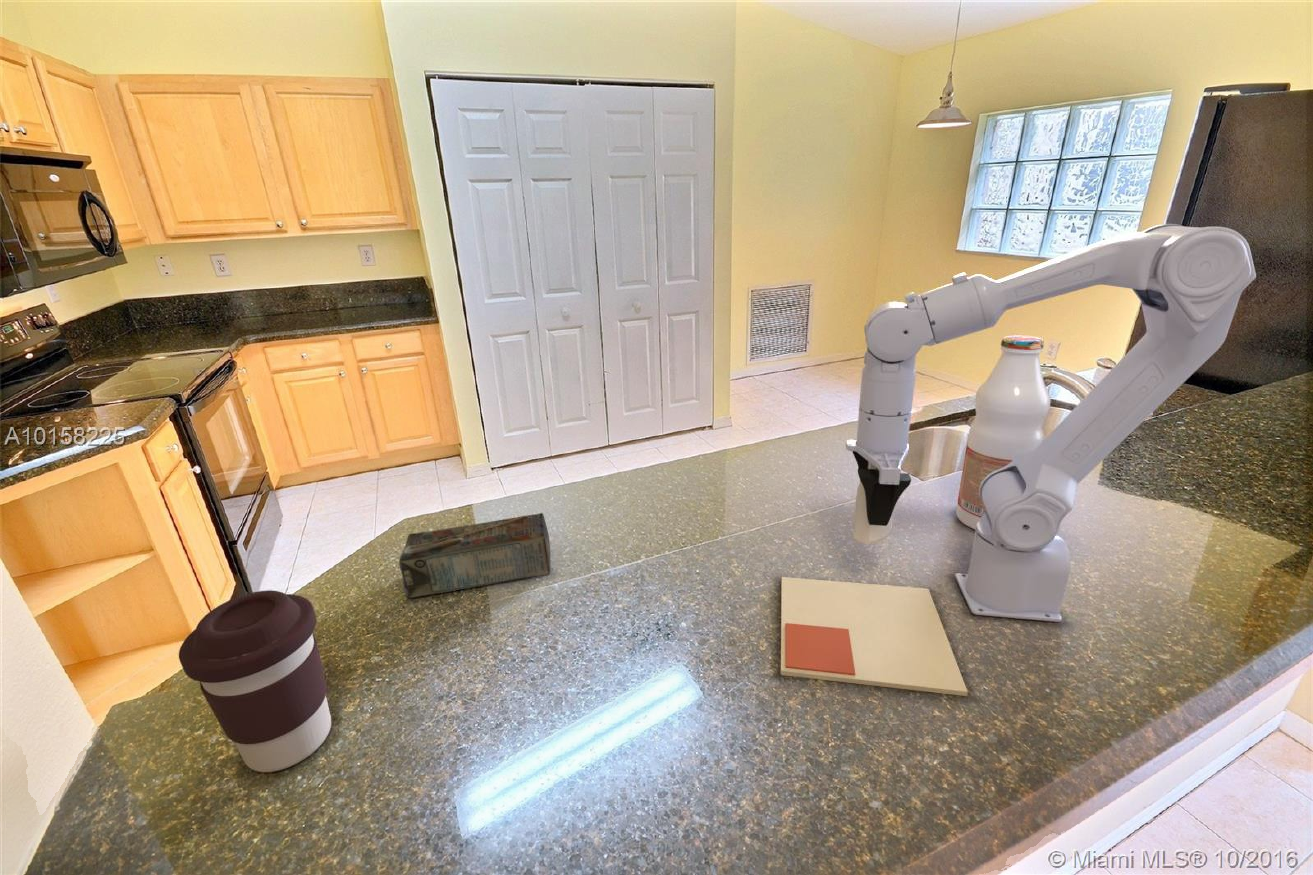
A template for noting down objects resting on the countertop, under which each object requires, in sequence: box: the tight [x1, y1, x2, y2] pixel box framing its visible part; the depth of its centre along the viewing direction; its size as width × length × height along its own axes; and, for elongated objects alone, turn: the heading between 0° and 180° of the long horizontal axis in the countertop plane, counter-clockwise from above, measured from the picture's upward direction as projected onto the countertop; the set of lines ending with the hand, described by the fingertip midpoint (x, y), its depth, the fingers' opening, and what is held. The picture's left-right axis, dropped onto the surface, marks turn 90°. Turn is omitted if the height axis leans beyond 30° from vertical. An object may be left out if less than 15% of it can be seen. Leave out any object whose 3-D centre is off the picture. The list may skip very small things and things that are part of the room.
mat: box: [780, 576, 969, 697], centre depth 66 cm, size 18×17×1 cm
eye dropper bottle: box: [852, 462, 894, 546], centre depth 71 cm, size 4×6×12 cm
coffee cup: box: [178, 589, 332, 773], centre depth 53 cm, size 10×10×15 cm
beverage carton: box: [398, 512, 551, 599], centre depth 80 cm, size 8×19×7 cm, turn 103°
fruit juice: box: [956, 334, 1052, 531], centre depth 83 cm, size 9×9×28 cm
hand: (874, 512), depth 72 cm, fingers closed on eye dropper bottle, 5 cm apart
